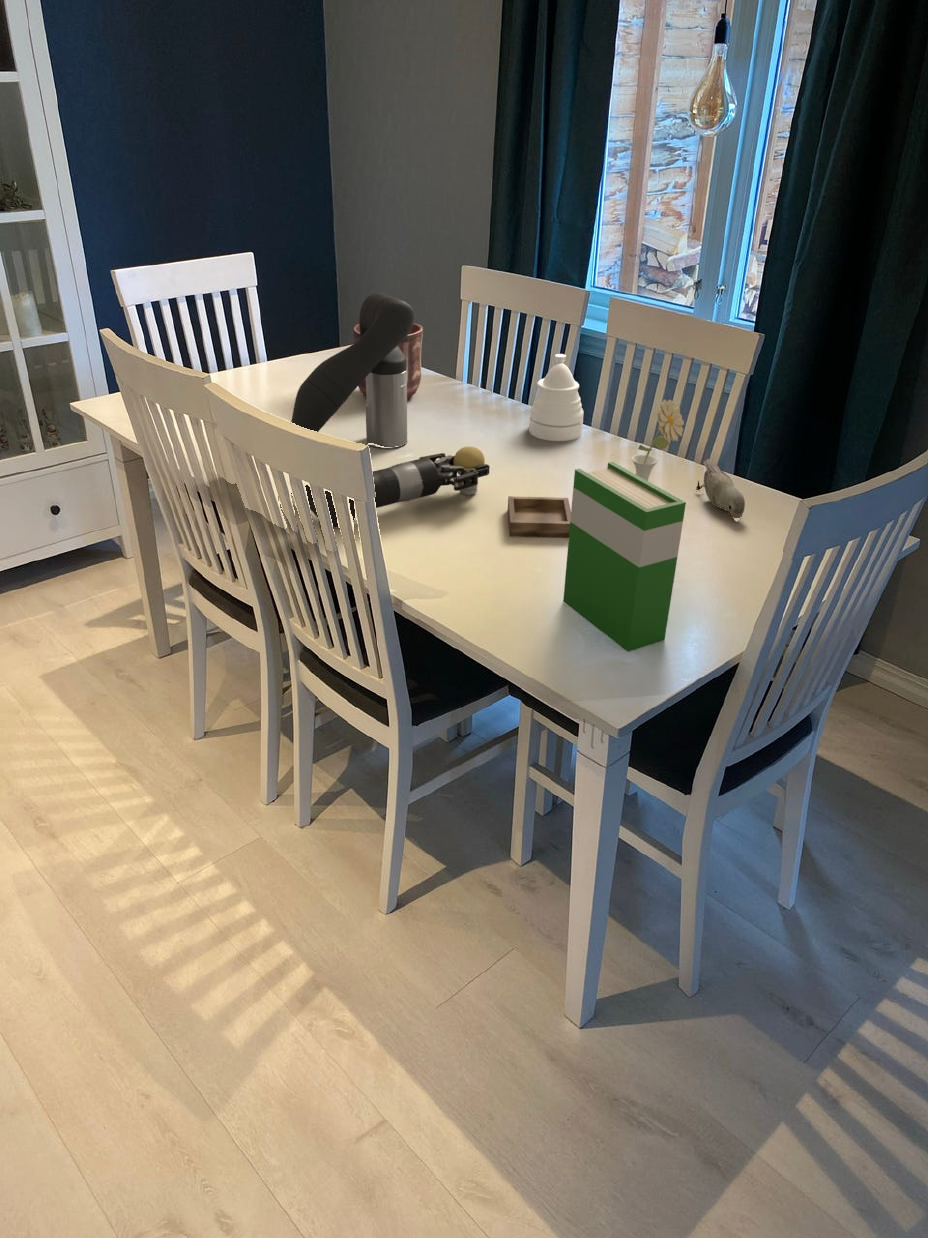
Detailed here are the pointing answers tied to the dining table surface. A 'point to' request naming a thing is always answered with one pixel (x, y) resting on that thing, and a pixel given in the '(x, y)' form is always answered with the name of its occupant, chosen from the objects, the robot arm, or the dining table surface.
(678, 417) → the flower in vase
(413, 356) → the pottery
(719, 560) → the dining table surface
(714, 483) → the decorative bird
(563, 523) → the walnut tray
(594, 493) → the hardback book
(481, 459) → the light bulb
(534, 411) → the honey pot
